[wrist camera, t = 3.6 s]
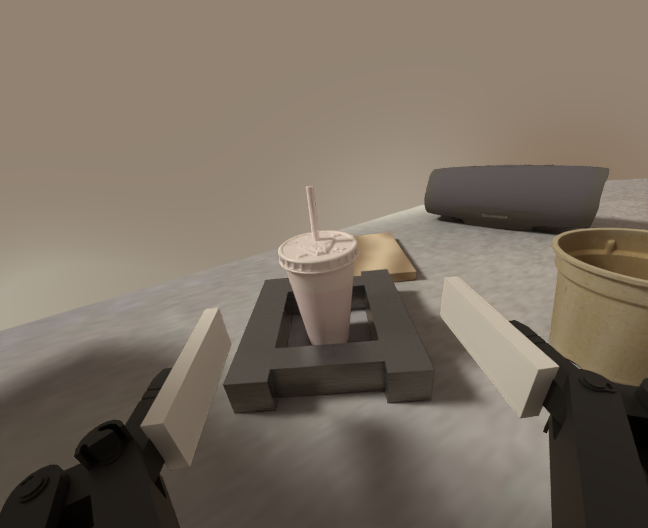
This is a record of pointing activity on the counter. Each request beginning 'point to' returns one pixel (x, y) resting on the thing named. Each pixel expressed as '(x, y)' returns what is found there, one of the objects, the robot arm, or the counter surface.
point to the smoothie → (321, 278)
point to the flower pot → (603, 302)
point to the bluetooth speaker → (517, 195)
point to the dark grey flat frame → (329, 351)
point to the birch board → (383, 257)
